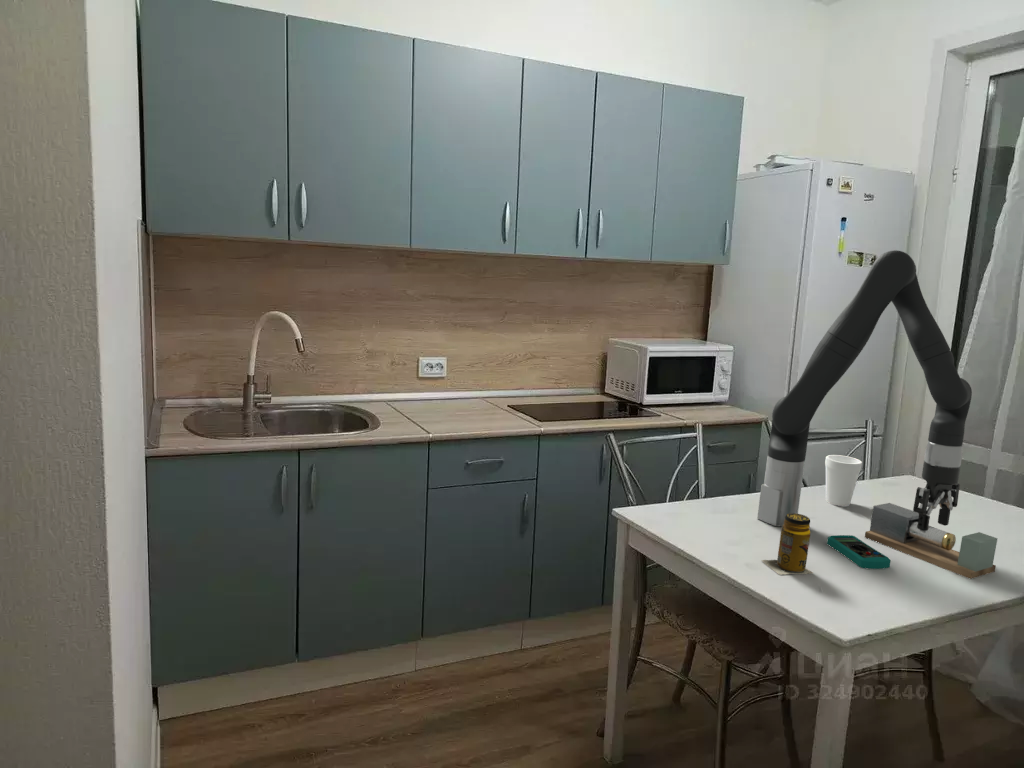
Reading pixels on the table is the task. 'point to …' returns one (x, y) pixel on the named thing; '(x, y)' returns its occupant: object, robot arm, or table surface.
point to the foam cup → (841, 478)
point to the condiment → (792, 546)
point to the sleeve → (893, 522)
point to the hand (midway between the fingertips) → (932, 527)
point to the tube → (931, 536)
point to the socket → (977, 551)
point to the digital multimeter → (859, 552)
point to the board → (931, 555)
